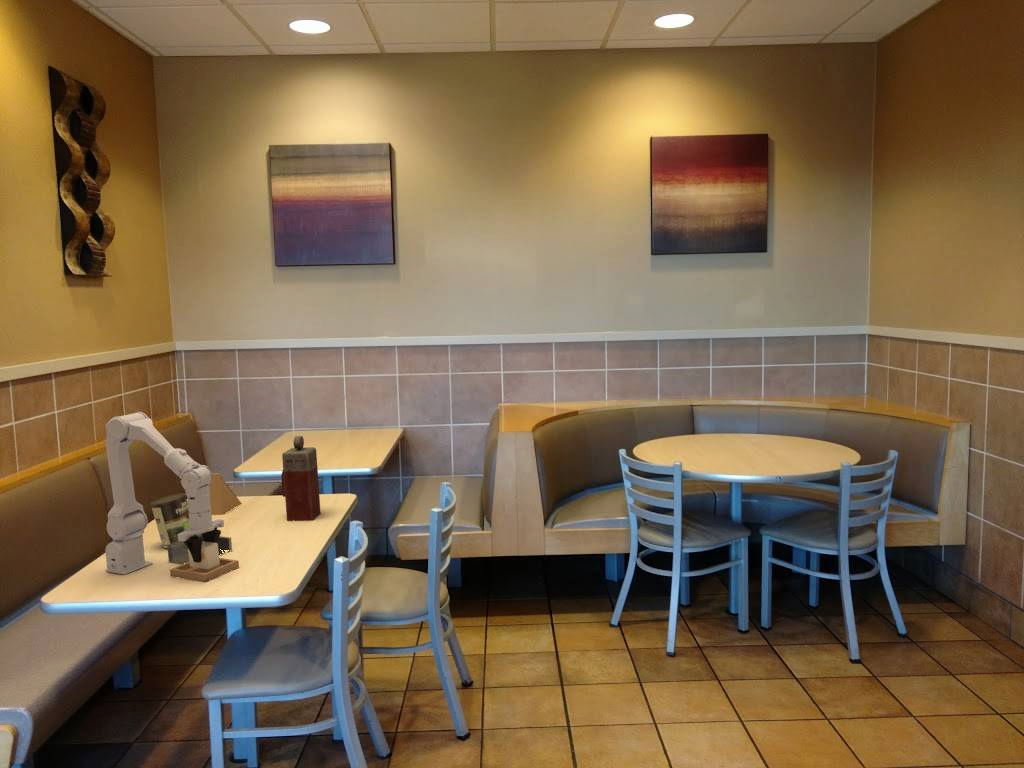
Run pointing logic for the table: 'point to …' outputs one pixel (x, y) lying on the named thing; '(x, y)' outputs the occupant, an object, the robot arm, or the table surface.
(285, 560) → the table surface
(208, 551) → the block with grey knob
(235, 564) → the tray
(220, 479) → the sandwich container
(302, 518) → the red pepper mill
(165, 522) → the coffee can
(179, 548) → the bay
